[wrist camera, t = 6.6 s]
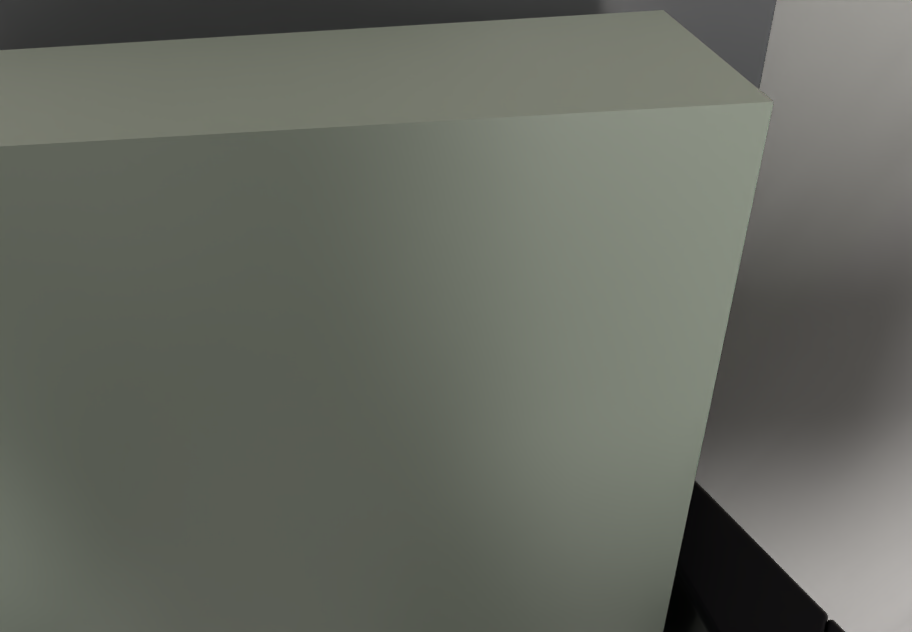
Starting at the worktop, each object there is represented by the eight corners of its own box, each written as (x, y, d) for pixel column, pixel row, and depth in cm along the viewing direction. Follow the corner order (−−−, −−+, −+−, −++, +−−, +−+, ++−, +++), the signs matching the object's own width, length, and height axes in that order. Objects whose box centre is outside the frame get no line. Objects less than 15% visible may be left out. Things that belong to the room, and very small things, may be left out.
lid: (588, 696, 12) (615, 859, 10) (183, 713, 12) (135, 877, 10) (664, 9, 6) (772, 101, 4) (-187, 62, 6) (-494, 175, 4)
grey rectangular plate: (646, 604, 14) (653, 633, 13) (148, 627, 14) (137, 656, 14) (768, -92, 7) (793, -85, 6) (-213, -28, 7) (-262, -18, 7)
